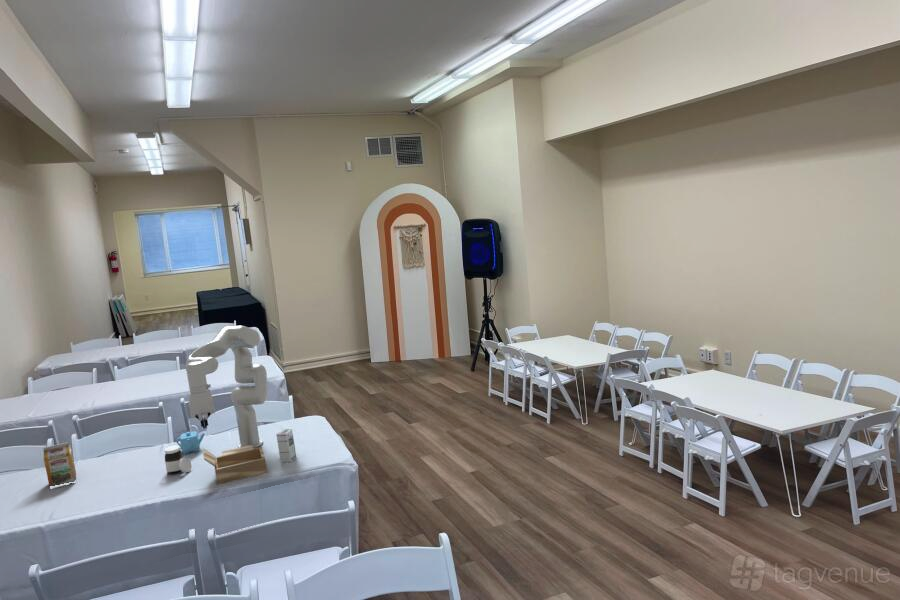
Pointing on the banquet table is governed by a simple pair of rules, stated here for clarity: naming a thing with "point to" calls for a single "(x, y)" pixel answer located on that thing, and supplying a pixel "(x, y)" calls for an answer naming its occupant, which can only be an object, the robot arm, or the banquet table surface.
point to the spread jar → (176, 460)
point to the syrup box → (286, 445)
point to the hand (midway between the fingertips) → (205, 427)
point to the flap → (209, 458)
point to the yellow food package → (59, 464)
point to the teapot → (190, 442)
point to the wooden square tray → (240, 464)
